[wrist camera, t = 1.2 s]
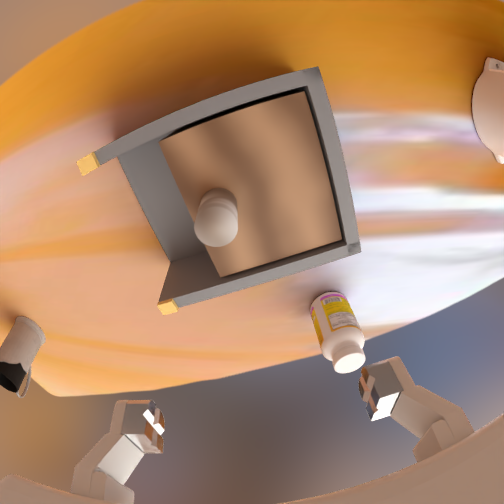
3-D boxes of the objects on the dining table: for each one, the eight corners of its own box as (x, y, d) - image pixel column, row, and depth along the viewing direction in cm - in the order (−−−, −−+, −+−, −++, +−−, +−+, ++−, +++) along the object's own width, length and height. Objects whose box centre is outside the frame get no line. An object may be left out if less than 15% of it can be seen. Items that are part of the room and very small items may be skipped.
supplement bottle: (326, 324, 51) (345, 382, 40) (301, 309, 49) (317, 370, 38) (354, 301, 48) (380, 357, 37) (330, 283, 46) (354, 342, 35)
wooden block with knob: (289, 91, 30) (319, 91, 19) (323, 210, 38) (357, 264, 27) (174, 130, 32) (142, 153, 21) (222, 242, 40) (218, 307, 29)
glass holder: (40, 321, 48) (10, 375, 35) (55, 362, 55) (34, 411, 42) (11, 311, 47) (-20, 360, 34) (27, 352, 54) (5, 398, 41)
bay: (295, 72, 30) (319, 65, 21) (335, 215, 40) (363, 255, 31) (114, 141, 33) (76, 162, 24) (176, 266, 43) (163, 315, 34)
